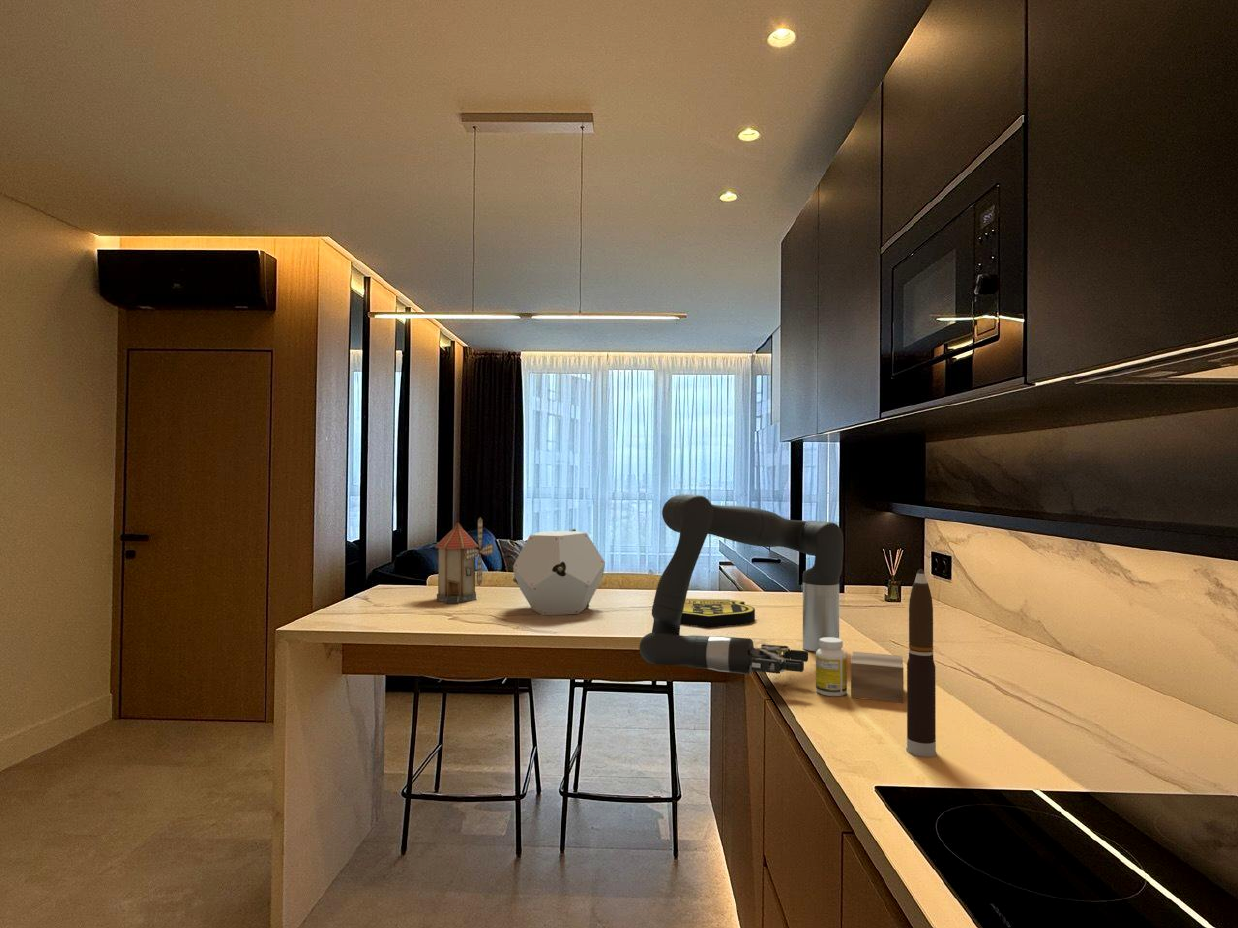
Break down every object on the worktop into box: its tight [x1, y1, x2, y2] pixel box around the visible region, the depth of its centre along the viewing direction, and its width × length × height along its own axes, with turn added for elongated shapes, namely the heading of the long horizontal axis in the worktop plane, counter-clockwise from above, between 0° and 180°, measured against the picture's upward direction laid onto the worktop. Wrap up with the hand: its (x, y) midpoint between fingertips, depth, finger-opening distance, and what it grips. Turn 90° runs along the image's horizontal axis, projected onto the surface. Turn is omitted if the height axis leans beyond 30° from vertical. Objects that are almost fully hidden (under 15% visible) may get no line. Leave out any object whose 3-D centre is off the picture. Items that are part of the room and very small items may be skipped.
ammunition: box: [906, 568, 937, 758], centre depth 117 cm, size 5×5×30 cm
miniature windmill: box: [434, 516, 495, 605], centre depth 257 cm, size 24×20×30 cm
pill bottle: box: [815, 637, 848, 697], centre depth 149 cm, size 6×6×11 cm
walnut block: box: [850, 651, 905, 704], centre depth 149 cm, size 10×10×7 cm
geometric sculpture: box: [512, 528, 606, 616], centre depth 238 cm, size 30×30×30 cm
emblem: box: [680, 598, 756, 629], centre depth 226 cm, size 30×4×30 cm
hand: (805, 661), depth 151 cm, fingers open, 8 cm apart
